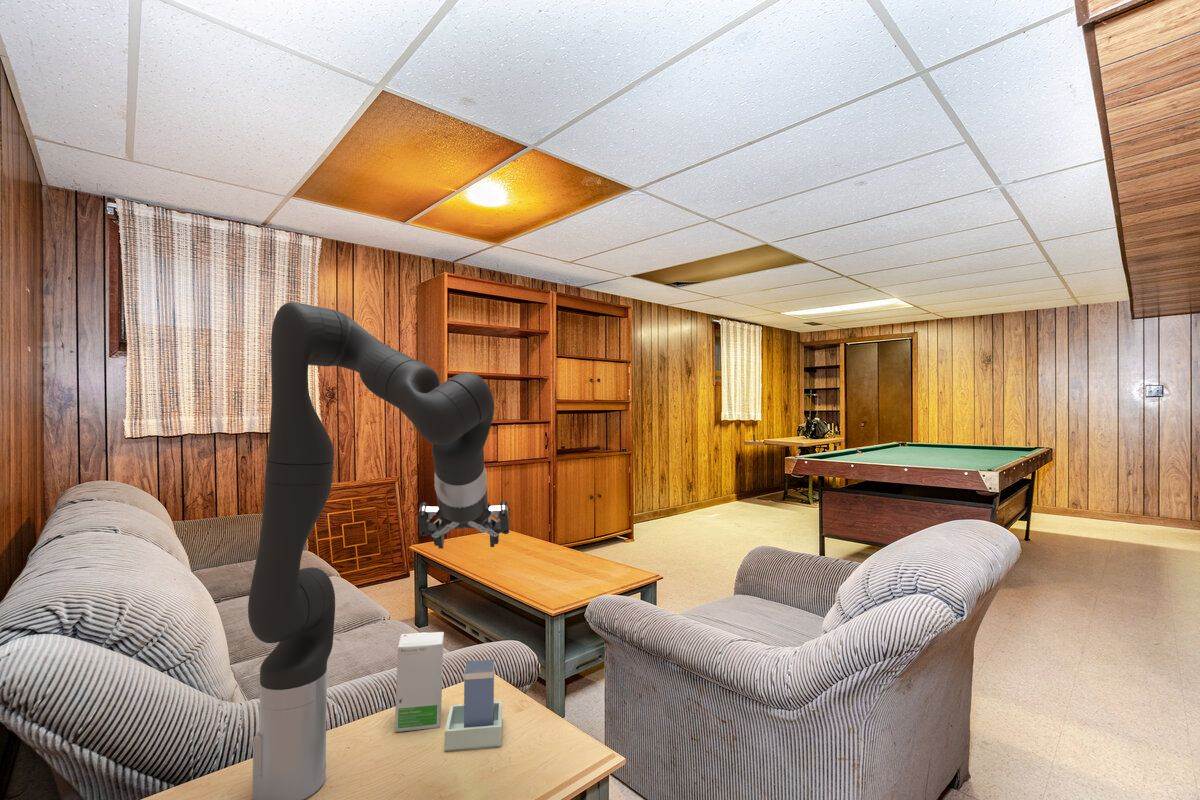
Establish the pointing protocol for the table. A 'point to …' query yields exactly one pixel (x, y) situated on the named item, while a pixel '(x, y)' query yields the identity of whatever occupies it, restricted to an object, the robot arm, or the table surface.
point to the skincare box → (419, 681)
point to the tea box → (479, 693)
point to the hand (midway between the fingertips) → (467, 543)
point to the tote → (472, 731)
